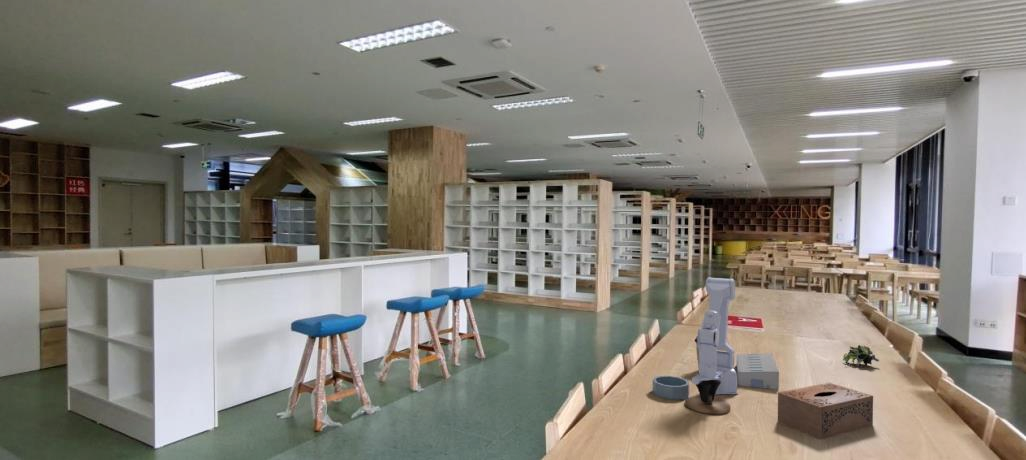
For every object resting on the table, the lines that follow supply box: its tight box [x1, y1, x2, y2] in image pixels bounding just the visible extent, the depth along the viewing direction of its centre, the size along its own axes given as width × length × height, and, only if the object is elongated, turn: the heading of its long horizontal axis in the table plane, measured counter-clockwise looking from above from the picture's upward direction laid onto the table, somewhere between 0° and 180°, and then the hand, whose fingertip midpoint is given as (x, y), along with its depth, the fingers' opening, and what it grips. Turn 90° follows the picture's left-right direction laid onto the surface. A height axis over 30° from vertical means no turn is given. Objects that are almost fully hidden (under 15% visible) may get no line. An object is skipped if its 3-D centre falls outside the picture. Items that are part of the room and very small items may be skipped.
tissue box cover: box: [777, 382, 874, 440], centre depth 163 cm, size 26×14×10 cm, turn 114°
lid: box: [684, 394, 731, 415], centre depth 178 cm, size 15×15×4 cm
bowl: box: [652, 375, 690, 401], centre depth 191 cm, size 13×13×5 cm
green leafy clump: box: [842, 344, 880, 368], centre depth 231 cm, size 11×11×12 cm
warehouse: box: [736, 352, 780, 391], centre depth 213 cm, size 30×14×8 cm, turn 157°
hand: (707, 400), depth 178 cm, fingers closed on lid, 3 cm apart
